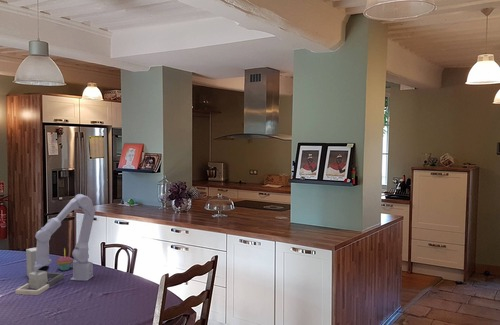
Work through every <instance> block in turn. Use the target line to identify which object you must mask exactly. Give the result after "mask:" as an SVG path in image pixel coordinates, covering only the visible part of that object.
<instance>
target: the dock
mask: <svg viewBox="0 0 500 325" xmlns="http://www.w3.org/2000/svg"><path fill="white" fill-rule="evenodd" d="M47 279H50V280H48V282H47V284H49V288H50V287H51V286H53V285H54V284H56V283H58V282H60V281H61V280H62V279H63V280H64V272H62V273H61V272H47ZM27 283H29V280H27V282H26V284H27Z"/></svg>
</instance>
